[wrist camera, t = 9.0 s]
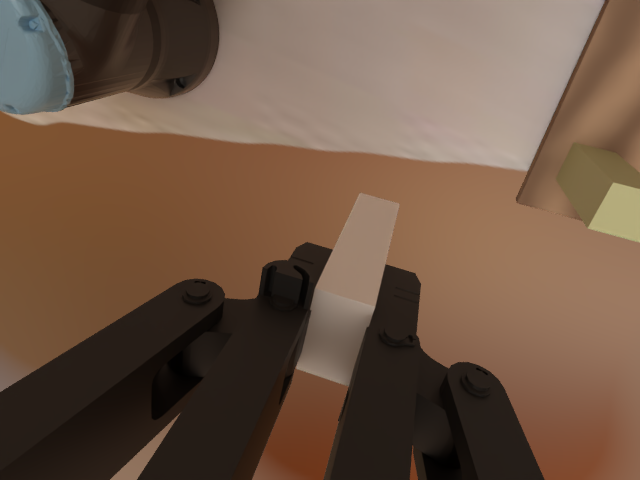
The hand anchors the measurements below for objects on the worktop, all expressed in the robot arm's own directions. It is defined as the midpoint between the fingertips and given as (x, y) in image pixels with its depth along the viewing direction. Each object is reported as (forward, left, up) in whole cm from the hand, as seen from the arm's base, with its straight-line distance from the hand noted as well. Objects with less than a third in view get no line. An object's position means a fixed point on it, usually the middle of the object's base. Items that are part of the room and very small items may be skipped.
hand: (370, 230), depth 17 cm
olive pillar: (+18, -3, -33) cm, 38 cm away
